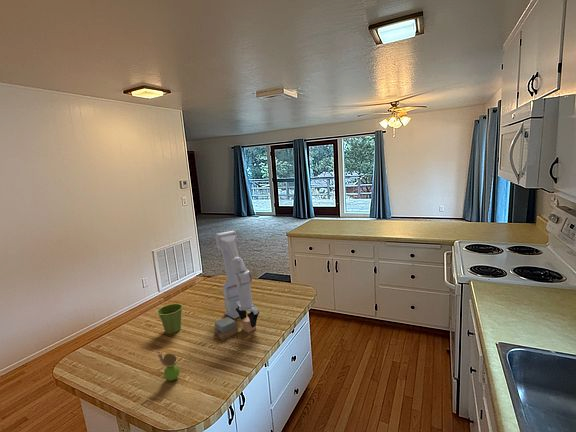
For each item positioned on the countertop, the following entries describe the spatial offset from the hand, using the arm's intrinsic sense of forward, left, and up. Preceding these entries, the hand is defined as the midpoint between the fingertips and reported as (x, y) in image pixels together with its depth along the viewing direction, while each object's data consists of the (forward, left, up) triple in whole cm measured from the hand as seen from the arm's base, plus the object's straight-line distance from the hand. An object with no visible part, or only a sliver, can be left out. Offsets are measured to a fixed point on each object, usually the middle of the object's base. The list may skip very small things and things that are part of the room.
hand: (248, 323), depth 144 cm
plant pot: (-30, -24, -3) cm, 39 cm away
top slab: (-6, -9, 0) cm, 11 cm away
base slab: (-6, -9, -3) cm, 11 cm away
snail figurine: (+5, -40, -3) cm, 40 cm away
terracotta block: (0, 0, -3) cm, 3 cm away
